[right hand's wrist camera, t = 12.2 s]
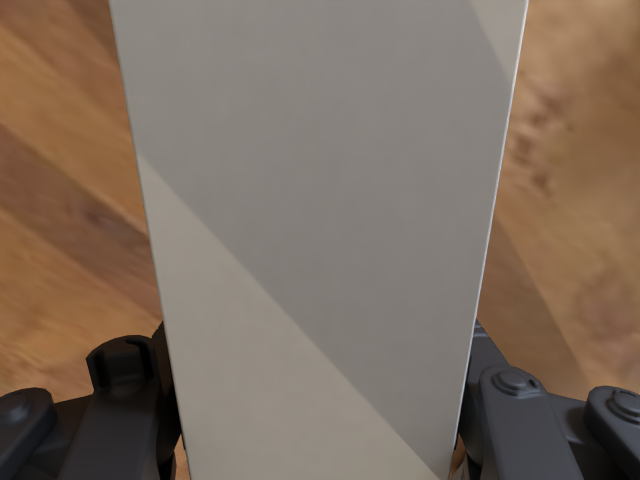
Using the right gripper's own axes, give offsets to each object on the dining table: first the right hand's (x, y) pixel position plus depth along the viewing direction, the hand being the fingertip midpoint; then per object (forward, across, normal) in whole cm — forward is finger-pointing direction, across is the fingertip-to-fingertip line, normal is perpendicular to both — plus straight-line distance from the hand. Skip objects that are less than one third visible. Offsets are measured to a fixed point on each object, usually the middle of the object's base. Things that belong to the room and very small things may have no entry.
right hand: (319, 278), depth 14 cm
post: (+1, 0, -25) cm, 25 cm away
